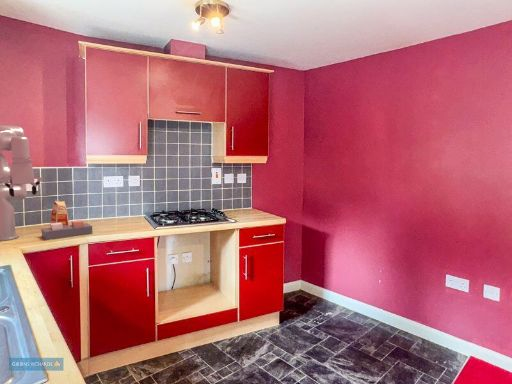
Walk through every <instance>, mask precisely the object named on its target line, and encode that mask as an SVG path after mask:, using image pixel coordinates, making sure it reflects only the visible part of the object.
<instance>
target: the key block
mask: <svg viewBox="0 0 512 384" xmlns="http://www.w3.org/2000/svg"><path fill="white" fill-rule="evenodd" d="M92 234H93V225H91V224H89V223H88V222H84V226H82V227H72V224H69V225H67V226H63V229H58V230H51V229H50V227H44V228H41V238H43V239H44V241H50V239H52V240H56V239H57V240H59V239H65V238H72V237H79V236H85V235H86V236H87V235H92Z"/></svg>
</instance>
